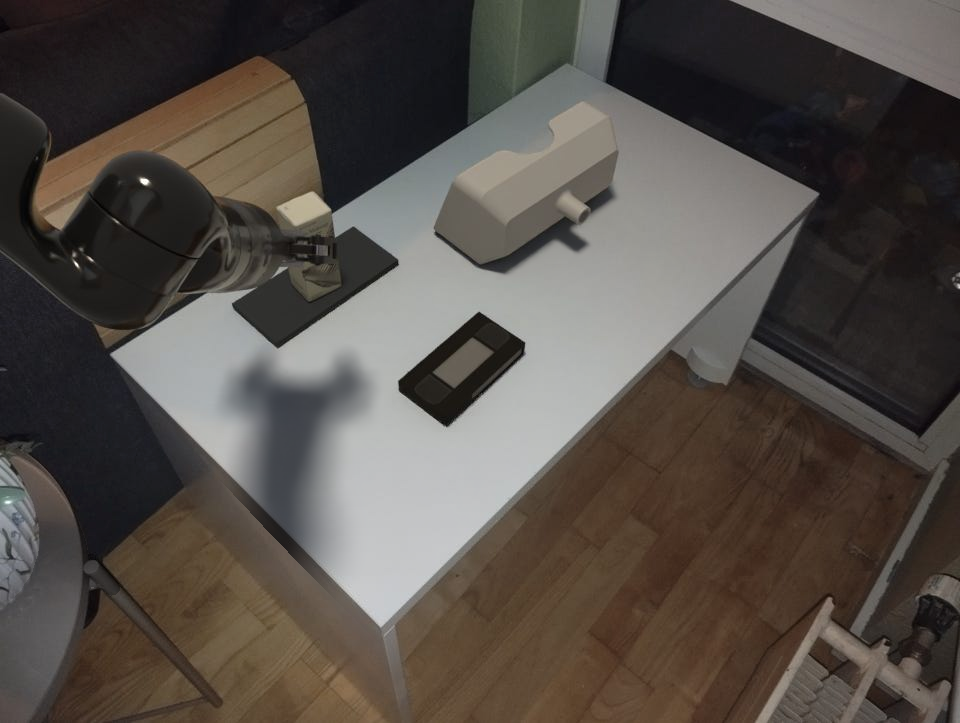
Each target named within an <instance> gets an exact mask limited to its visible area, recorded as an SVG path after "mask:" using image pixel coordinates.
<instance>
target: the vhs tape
mask: <svg viewBox="0 0 960 723" xmlns="http://www.w3.org/2000/svg"><path fill="white" fill-rule="evenodd" d="M525 351H526V342H525V341H524V340H523V339H521V338H519V337H518V336H516V335H515V334H513V333H512V332H510V331H509V330H508V329H506V328H504V327H503V326H502V325H500V324H499V323H497V322H496V321H494V320H493V319H491V318H490V317H489V316H486V315H485V314H484V313H482V312H481V311H478V312H476V313H475V314H474V315H473V316H472V317H470V318H469V319H468V320H467V321H466V322H464V324H463V325H461V326H460V327H459V328H458V329H457V330H456V331H454V332H453V333H452V334H451V335H449V336H448V337H447V338H446V339H445V340H444V341H442V342H441V343H440V344H439V345H438V346H437V347H435V348H434V349H433V350H432V351H431V352H430V353H428V354H427V355H426V356H425V357H424V358H423V359H422V360H420V362H418V363H417V364H416V365H414V366H413V367H412V368H411V369H410V370H409V371H407V373H405V374H404V375H403V376H402V377H401V378H399V379H398V380H397V385H398V391H399V392H400V393H402V394H403V395H404V396H406V398H408V399H409V400H410V401H412V403H414V404H416V405H417V406H418V407H420V408H421V409H422V410H423V411H425V412H426V413H427V414H429V415H430V416H431V417H433V418H434V419H436V420H437V421H438V422H440V424H442V425H443V426H445V427H448V426H449V425H450V424H451V423H452V422H453V421H454V420H455V419H457V417H458V416H460V415H461V414H462V413H463V412H464V411H465V410H466V409H467V408H468V407H469V406H470V405H471V404H473V402H475V401H476V400H477V399H478V398H479V397H480V396H481V395H482V394H483V393H484V392H485V391H486V390H487V389H489V387H491V386H492V385H493V384H494V383H495V382H496V381H497V380H498V379H499V378H500V377H501V376H502V375H503V374H504V373H505V372H507V370H509V368H511V367H512V366H513V365H514V364H515V363H516V362H517V361H518V360H519V359H520V358H522V357H523V355H524V354H525Z"/></svg>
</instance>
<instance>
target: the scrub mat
mask: <svg viewBox="0 0 960 723" xmlns="http://www.w3.org/2000/svg"><path fill="white" fill-rule="evenodd" d="M335 238H338V243H337V244H338V263H339V270H340V277H341V284H342V285H341V286H340V287H339V288H337V289H335V290H333V291H331V292H329V293H327V294H325V295H323V296H321V297H319V298H317V299H315V300H313V301H310V302H308V301H307V300H306V299H305V298H304V297H303V296H302V295H301V293H300V292H299V291H298V290H297V289H296V288H295V287H294V286H293V285H292V283H291V278H290V274H289V269H288V267H286V268H285V269H284V270H282V271H281V272H279V273H277V274H276V275H274V276H273V277H272V278H271V279H270V280H268V281H267V282H266V283H264V284H263V285H261V286H259V287H256V288H253V289H251V291H249V292H247V293H246V294H244V295H243V296H241V297H240V298H238V299H236V300H235V301H233V302H231V306H232V309H233V310H234V311H235V312H236V313H237V314H239V316H241V317H242V318H243V319H244V320H245V321H246V322H247V323H249V324H250V325H251V326H252V327H253V328H254V329H255V330H257V331H258V333H260V334H261V335H262V336H263V337H264V338H265V339H267V341H269V342H270V343H271V344H272V345H273V346H274V347H275V348H277V349H279V348H280V347H282V346H283V345H285V344H287V343H288V342H289V341H290V340H292V339H293V338H295V337H296V336H298V335H299V334H301V333H302V332H303V331H305V330H306V329H308V328H309V327H311V326H312V325H314V324H315V323H316V322H318V321H320V320H321V319H323V318H324V317H325V316H327V315H328V314H330V313H331V312H332V311H334V310H335V309H337V308H338V307H340V306H342V305H343V304H344V303H345V302H347V301H349V299H351V298H353V297H354V296H356V295H358V293H360V292H361V291H363V290H364V289H366V288H367V287H369V286H370V285H371V284H373V283H374V282H376V281H377V280H379V279H380V278H382V277H383V276H385V275H386V274H387V273H389V272H390V271H392V270H393V269H394V268H396V267H398V266H399V265H400V264H399V263H400V262H399V259H398V258H397V257H395V256H394V255H393V254H392V253H391V252H389V251H387V249H385V248H383V247H382V246H381V245H379V244H378V243H377V242H376V241H374V240H373V239H372V238H370V237H369V236H368V235H366V234H365V233H364V232H362V231H361V230H360V229H358V228H357V227H356V226H351V227H350V228H348V229H346V230H345V231H344V232H342V233H340V234H339V235H337V236H335Z"/></svg>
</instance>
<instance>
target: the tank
mask: <svg viewBox="0 0 960 723" xmlns="http://www.w3.org/2000/svg"><path fill="white" fill-rule="evenodd" d="M547 128H548V130H549V131H550V132H551V133H552V136H553V141H552V143H551V144H550V145H549V146H548V147H547V148H545V149H543V150H541V151H539V152H534V153H519V152H514V151H512V150H507V149H505V150H502V149H501V150H498V151H496V152H494V153H492V154H491V155H489V156H487V157H486V158H483V159H482V160H481V161H478V162H477V163H475V164H474V165H472V166H471V167H468V168H467V169H465V170H464V171H462V172H460V174H458V175H457V176H456V177H455V178H454V179H453V181H452V182H451V184H450V186H449V189H448V191H447V194H446V196H445V198H444V200H443V203H442V206H441V208H440V210H439V213H438V216H437V218H436V220H435V222H434V225H433V228H432V229H433V231H435V232H436V233H437V234H439V235H440V236H442V237H443V238H445V239H446V240H447V241H449V243H451V244H452V245H454V246H455V247H456V248H457V249H459V250H460V251H461V252H463V253H464V254H465V255H467V256H468V257H469V258H470V259H472V261H474V262H476V263H477V264H478V265H484V264H487V263H490V262H493V261H496V260H499V259H502V258H504V257H507V256H509V255H511V254H512V253H513V252H515V251H516V250H518V249H519V248H521V247H523V246H524V245H525V244H527V243H529V241H531V240H532V239H534V238H536V237H537V236H538V235H540V234H541V233H543V232H544V231H546V230H547V229H548V228H550V227H552V226H553V225H555V224H556V223H557V222H559V221H560V220H562V219H564V218H566V219H569V220H570V221H571V222H573V223H575V224H576V225H578V226H581V225H583V224H584V223H585V222H587V220H588V218H589V217H590V215H591V212H592V210H591V207H589V206H588V205H586V204H585V203H587V202H588V201H590V200H591V199H592V198H595V197H596V196H597V195H599V194H600V193H601V192H602V191H604V190H605V189H607V188H608V187H610V186H611V184H612V182H613V181H614V176H615V172H616V167H617V162H618V158H619V153H620V152H619V148H618V142H617V138H616V133H615V130H614V123H613V119H612V117H611V116H609V115H608V114H606V113H604V112H603V111H601V110H599V109H598V108H596V107H594V106H592V105H590V104H589V103H588V102H585V101H584V100H582V101H580V102H578V103H577V104H575V105H572V107H570V108H567V109H566V110H565V111H563V112H561V113H560V114H558V115H556V116H554V117H552V119H550V120H549V122H548V124H547Z"/></svg>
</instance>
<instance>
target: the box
mask: <svg viewBox="0 0 960 723" xmlns="http://www.w3.org/2000/svg"><path fill="white" fill-rule="evenodd" d="M275 210H276V214H277V219H278V224H279V225H278V226H279V228H280V229H286V230H300V231H302V232H303V234H304V236H307V237H310V236H311V235H315V236H316V235H321V237H329V236H334V238H336V233H335V227H334V220H333V219H334V218H333V213H332V212H333V211H332V209H331V207H330V206H329V205H328V204H327V203H326V202H324V200H323V199H322V198H321V197H320V196H319V195H318V194H317V193H316V192H315V191H314V190H313V191H309V192H307V193H304V194H302V195H299V196H297V197H294V198H292V199H290V200H288V201H286V202H284V203H282V204H279V205H276V206H275ZM283 236H286V235H283ZM303 244H307V241H305V242H304V243H303ZM303 256H304V257H307V255H303ZM336 259H337V264H334V265H328V264H320V265H321V266H318V265H315V264H311V263H309V262H305V263H303V265H302V267H287V268H288V269H289V274H290V278H291V283H292V285H293V286H294V287H295V288H296V289H297V290H298V291H299V292H300V293H301V295H302V296H303V297H304V298H305V299H306V300H307V301H308V302H310V301H313V300H315V299H317V298H319V297H321V296H323V295H325V294H327V293H329V292H331V291H333V290H335V289H337V288H339V287H340V286H341V285H342V284H341V277H340V270H339V263H338V256H337V258H336Z"/></svg>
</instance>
